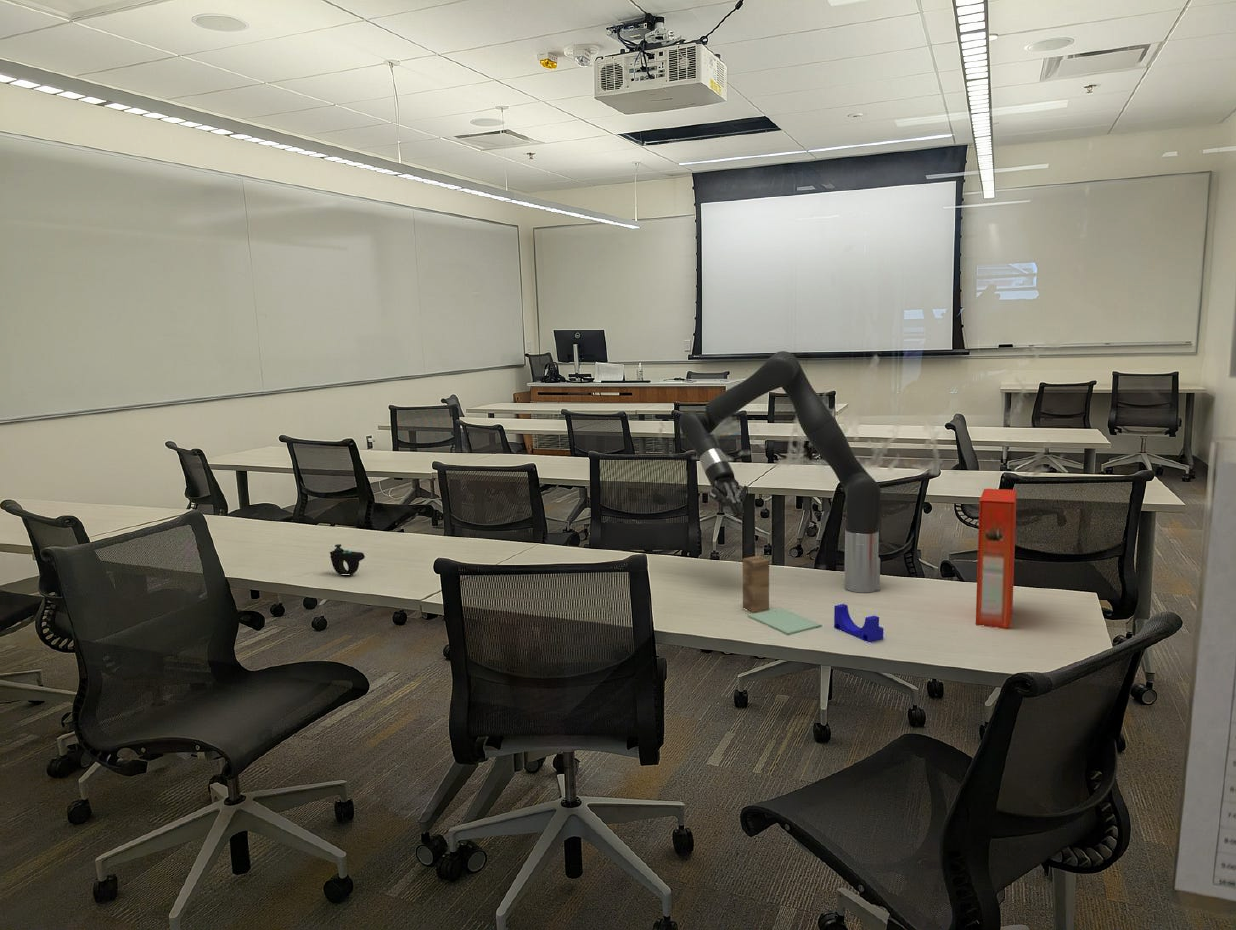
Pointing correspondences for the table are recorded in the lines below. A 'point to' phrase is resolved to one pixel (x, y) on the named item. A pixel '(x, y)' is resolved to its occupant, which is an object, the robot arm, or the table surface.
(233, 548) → the table surface
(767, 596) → the walnut block
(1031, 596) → the table surface
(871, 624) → the blue cradle block
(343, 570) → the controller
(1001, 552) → the file binder
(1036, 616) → the table surface
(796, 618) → the sage mat
